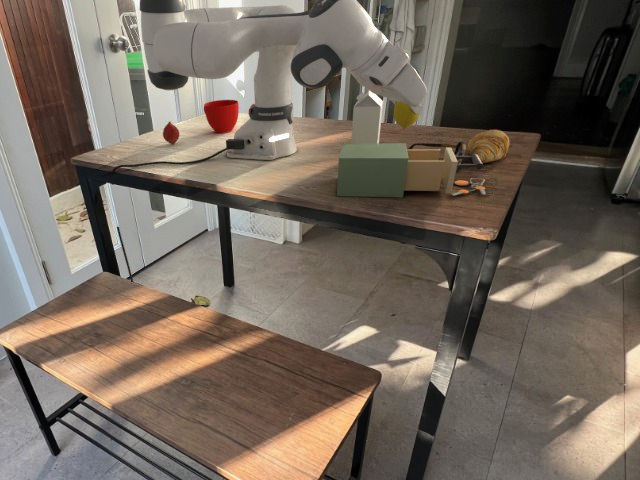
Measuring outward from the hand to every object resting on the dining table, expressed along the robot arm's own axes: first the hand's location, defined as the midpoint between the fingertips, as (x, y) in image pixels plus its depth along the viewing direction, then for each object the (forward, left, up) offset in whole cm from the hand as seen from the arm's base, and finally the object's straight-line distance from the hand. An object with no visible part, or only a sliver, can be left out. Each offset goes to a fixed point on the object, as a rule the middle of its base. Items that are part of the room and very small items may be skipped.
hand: (410, 108), depth 96 cm
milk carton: (-9, +23, -18) cm, 31 cm away
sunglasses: (+9, +19, -18) cm, 28 cm away
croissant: (+24, +27, -18) cm, 40 cm away
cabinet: (-7, 0, -18) cm, 20 cm away
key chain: (+16, 0, -18) cm, 24 cm away
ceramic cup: (-64, +60, -18) cm, 90 cm away
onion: (-76, +40, -18) cm, 88 cm away
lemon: (-1, 0, -5) cm, 5 cm away
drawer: (+7, 0, -17) cm, 19 cm away
